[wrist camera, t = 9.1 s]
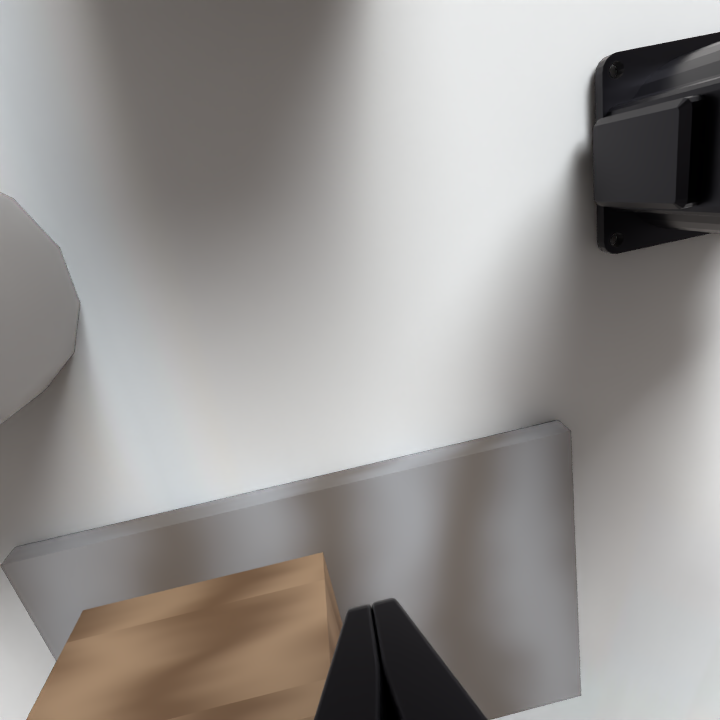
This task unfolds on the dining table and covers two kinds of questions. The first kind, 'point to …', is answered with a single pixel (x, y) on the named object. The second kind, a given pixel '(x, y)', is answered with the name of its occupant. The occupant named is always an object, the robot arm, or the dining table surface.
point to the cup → (31, 309)
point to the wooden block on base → (317, 587)
